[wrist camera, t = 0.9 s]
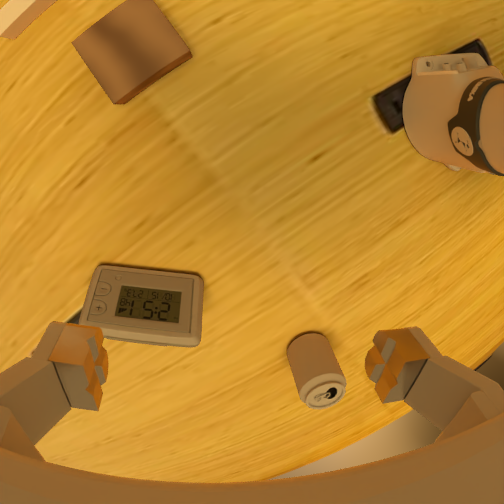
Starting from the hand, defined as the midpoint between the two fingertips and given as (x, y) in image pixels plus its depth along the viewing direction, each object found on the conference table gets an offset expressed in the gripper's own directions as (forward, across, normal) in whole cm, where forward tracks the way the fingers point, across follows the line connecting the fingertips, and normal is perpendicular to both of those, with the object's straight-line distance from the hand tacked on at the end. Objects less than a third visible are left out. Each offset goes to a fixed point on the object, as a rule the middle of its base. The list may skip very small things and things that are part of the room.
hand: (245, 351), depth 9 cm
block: (+34, +11, -14) cm, 38 cm away
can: (+33, -18, +30) cm, 48 cm away
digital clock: (+34, +8, +18) cm, 39 cm away
